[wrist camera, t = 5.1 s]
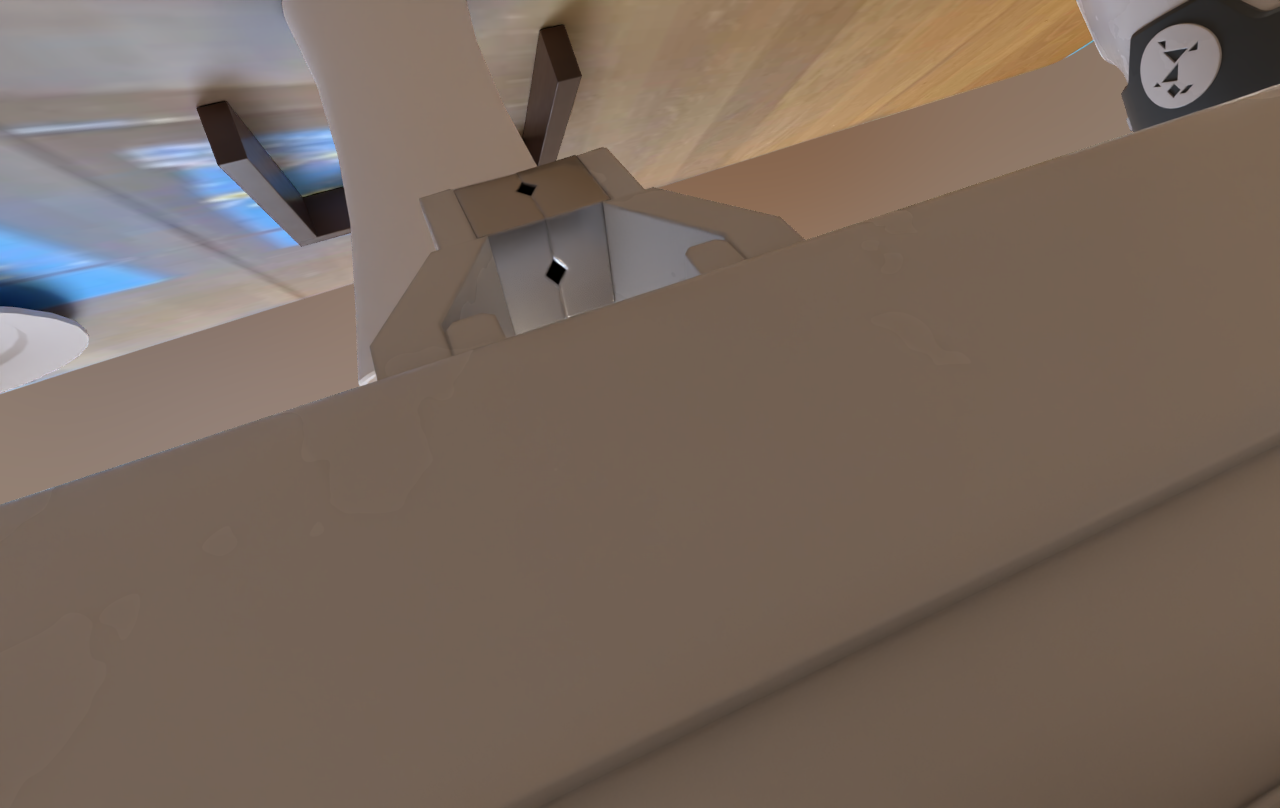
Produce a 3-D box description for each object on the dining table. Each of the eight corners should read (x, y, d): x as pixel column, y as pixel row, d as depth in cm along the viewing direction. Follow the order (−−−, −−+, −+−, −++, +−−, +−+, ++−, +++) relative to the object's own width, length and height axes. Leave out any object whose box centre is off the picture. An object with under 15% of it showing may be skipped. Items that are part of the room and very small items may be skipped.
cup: (503, 41, 32) (601, 320, 33) (266, 93, 30) (378, 394, 30) (519, -137, 22) (661, 274, 23) (161, -79, 19) (332, 379, 20)
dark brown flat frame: (564, 24, 32) (582, 76, 33) (538, 141, 46) (551, 177, 46) (195, 107, 29) (217, 165, 29) (286, 207, 42) (301, 246, 43)
